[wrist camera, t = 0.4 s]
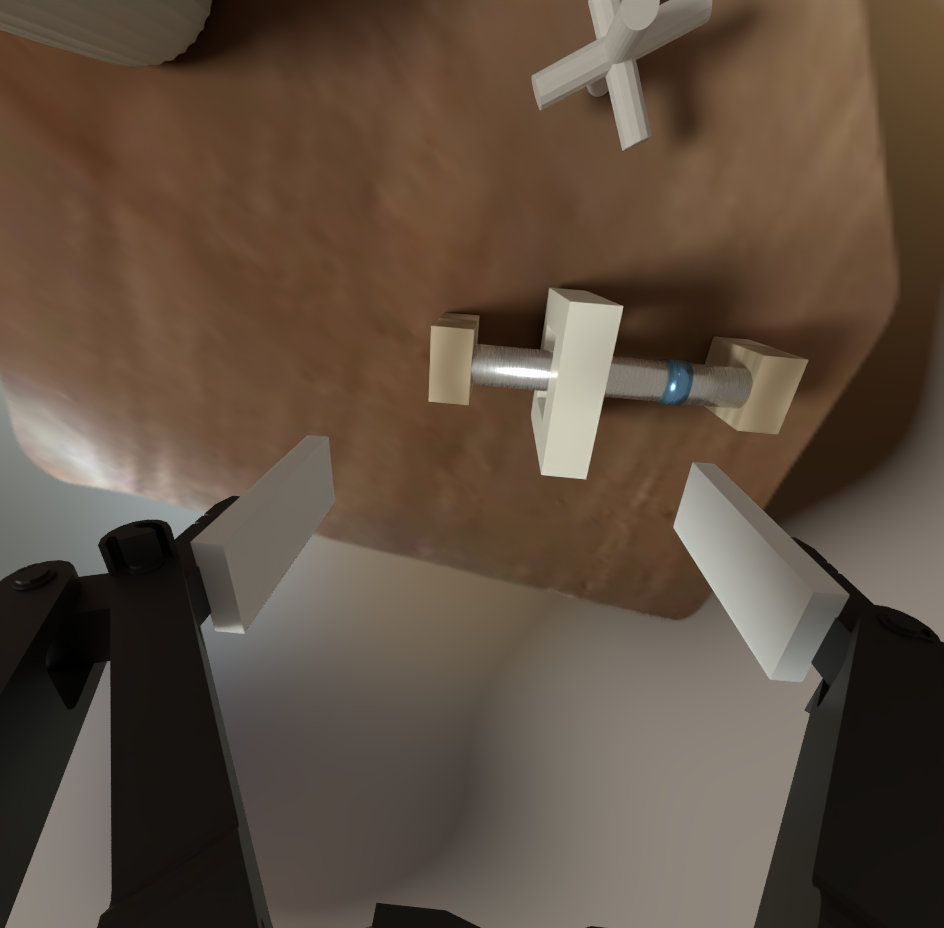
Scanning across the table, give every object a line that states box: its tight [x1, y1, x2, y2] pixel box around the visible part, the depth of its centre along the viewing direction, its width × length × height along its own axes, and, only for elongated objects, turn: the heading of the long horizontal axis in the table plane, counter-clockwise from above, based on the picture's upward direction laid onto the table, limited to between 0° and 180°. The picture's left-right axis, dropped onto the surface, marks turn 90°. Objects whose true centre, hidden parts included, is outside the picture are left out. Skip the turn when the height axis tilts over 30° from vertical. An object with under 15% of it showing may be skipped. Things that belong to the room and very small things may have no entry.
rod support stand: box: [429, 312, 808, 434], centre depth 35 cm, size 26×6×8 cm, turn 86°
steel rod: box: [470, 344, 752, 409], centre depth 33 cm, size 25×3×3 cm, turn 86°
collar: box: [531, 288, 623, 479], centre depth 32 cm, size 3×11×12 cm, turn 175°
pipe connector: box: [532, 0, 712, 151], centre depth 26 cm, size 10×10×10 cm
